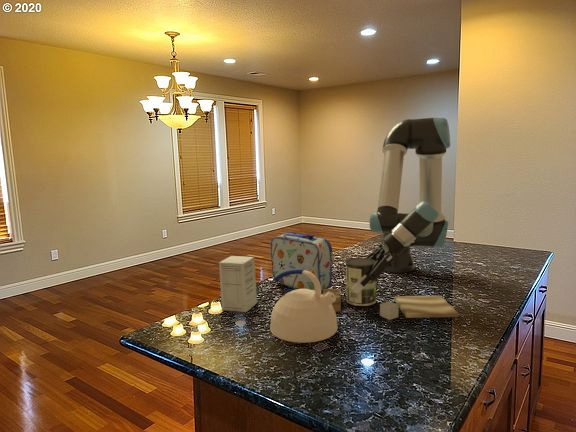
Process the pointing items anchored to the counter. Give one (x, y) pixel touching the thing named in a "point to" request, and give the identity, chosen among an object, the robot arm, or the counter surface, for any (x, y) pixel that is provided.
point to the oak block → (332, 291)
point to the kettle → (304, 313)
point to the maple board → (424, 306)
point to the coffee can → (353, 275)
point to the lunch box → (302, 259)
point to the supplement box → (238, 283)
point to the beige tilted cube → (389, 310)
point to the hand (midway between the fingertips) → (352, 285)
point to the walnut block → (336, 302)
